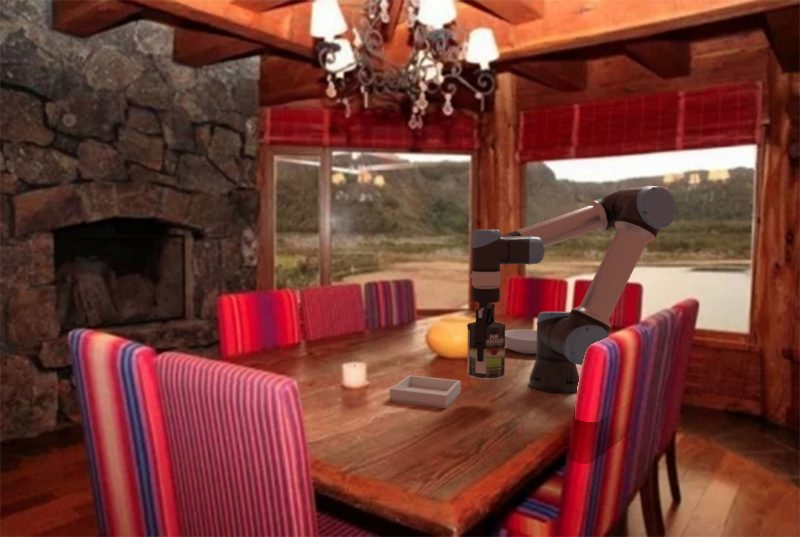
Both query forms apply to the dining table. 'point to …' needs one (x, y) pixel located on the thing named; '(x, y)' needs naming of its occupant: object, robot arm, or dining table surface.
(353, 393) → the dining table surface
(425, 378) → the tray
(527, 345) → the serving bowl
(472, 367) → the coffee can
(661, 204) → the robot arm
